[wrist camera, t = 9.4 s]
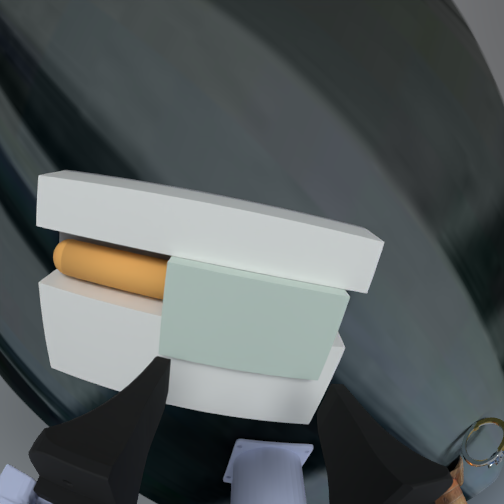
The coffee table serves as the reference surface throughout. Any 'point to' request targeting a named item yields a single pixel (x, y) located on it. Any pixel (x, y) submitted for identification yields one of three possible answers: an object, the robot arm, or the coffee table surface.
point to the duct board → (197, 249)
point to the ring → (496, 457)
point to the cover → (248, 320)
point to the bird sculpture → (454, 487)
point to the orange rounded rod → (112, 267)
